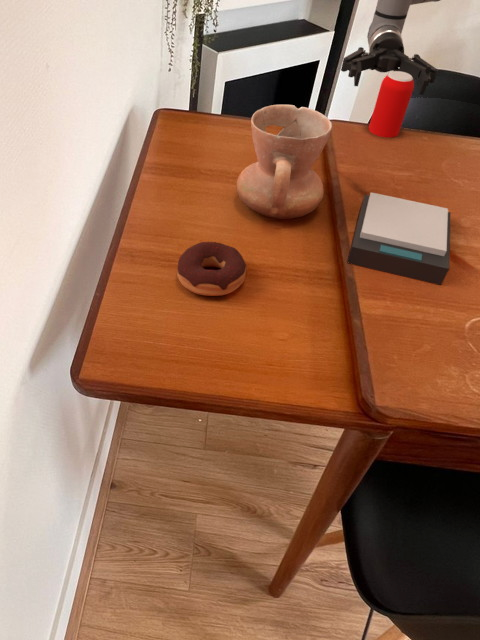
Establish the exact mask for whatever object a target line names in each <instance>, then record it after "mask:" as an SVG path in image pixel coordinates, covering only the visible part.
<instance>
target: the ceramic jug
mask: <svg viewBox="0 0 480 640" xmlns="http://www.w3.org/2000/svg"><path fill="white" fill-rule="evenodd" d="M269 126H276V127H282V129H281V130H280V131H279V132H278V133H277V134H273V133H270V132H267V129H266V128H267V127H269ZM250 127H251V137H252V142H253V146H254V151H255V155H256V158H257V161H255V162H252V163H251V164H249V165H247V166H246V167H245V168H243V170H242V171H241V172H240V173H239V175H238V177H237V180H236V193H237V195H238V197H239V200H240V201H241V202H242V203H243V204H244V205H245V207H247V208H248V209H250V210H251V211H254V212H256V213H257V214H259V215H262V216H265V217H268V218H271V219H280V220H284V219H285V220H288V219H296V218H300V217H304V216H306V215H309V214H311V213H312V212H313V211H314V210H316V209H317V208H318V206H319V205H320V204H321V202H322V200H323V197H324V194H325V193H324V191H325V190H324V185H323V181H322V180H321V178H320V176H319V174H318V173H316V171H315V170H314V169H312V167H313V166H314V165H315V163H316V162H317V161H318V159H319V157H320V156H321V154H322V152H323V150H324V149H325V146H326V144H327V142H328V141H329V138H330V135H331V133H332V129H333V123H332V122H331V120H330V118H328V117H327V116H326V115H325V114H323V113H321V112H319V111H318V110H315V109H313V108H308V107H307V106H306V107H305V106H301V107H297V106H295V105H293V104H273V105H272V104H271V105H268V106H264V107H261V108H259V109H257V110H256V111H255V112H254V113H253V114H252V116H251V120H250Z"/></svg>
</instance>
